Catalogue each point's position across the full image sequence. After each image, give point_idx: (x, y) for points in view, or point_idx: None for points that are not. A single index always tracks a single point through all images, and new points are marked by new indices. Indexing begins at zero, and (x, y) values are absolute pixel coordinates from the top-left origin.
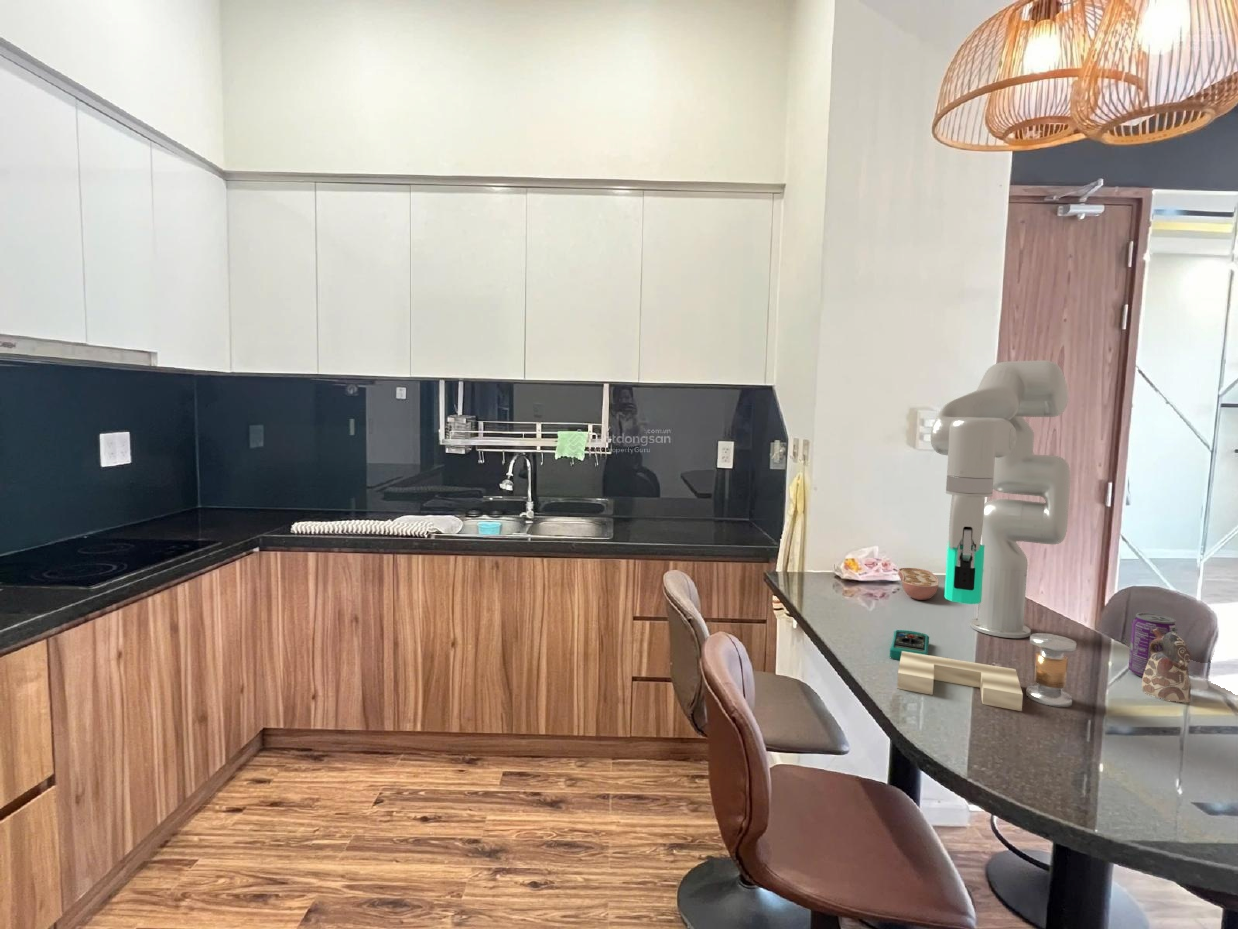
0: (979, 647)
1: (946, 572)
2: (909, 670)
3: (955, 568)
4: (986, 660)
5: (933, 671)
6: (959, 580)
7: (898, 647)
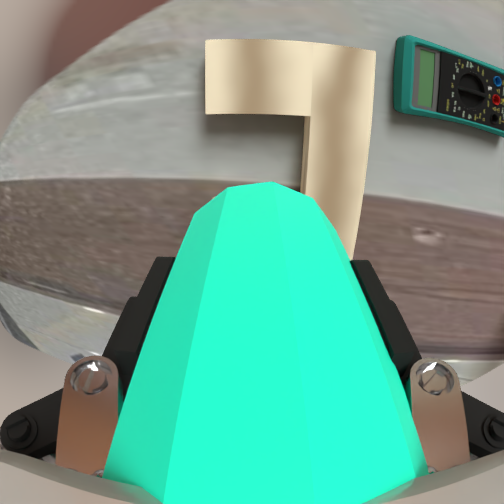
0: (499, 222)
1: (255, 251)
2: (235, 62)
3: (121, 340)
4: (448, 225)
5: (257, 113)
6: (126, 307)
7: (432, 57)
